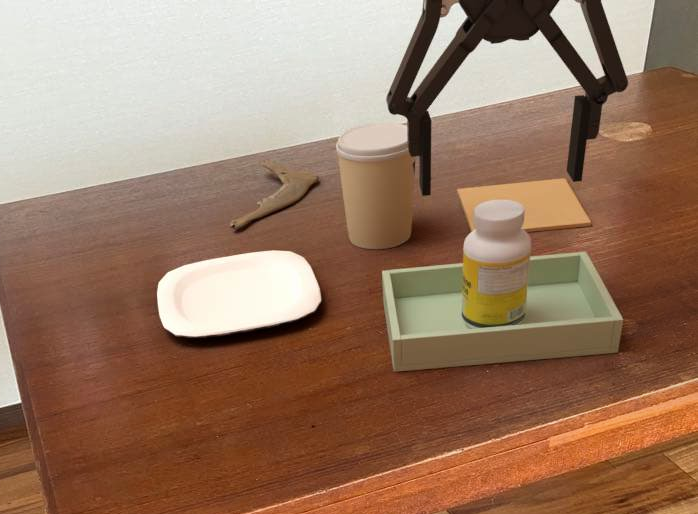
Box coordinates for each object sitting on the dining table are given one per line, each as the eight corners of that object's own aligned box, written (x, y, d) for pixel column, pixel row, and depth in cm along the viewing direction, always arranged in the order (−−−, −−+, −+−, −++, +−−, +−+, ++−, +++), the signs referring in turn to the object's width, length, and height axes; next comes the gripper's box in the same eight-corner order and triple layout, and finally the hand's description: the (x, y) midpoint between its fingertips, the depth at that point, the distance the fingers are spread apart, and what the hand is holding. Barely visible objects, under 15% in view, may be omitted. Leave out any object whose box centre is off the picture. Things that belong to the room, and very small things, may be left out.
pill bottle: (478, 299, 94) (483, 191, 87) (536, 312, 91) (546, 200, 83) (449, 327, 91) (451, 217, 83) (508, 341, 88) (516, 228, 80)
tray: (582, 282, 96) (586, 251, 94) (618, 352, 85) (623, 319, 83) (383, 300, 98) (381, 270, 95) (393, 372, 87) (392, 339, 84)
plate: (332, 327, 95) (330, 312, 93) (164, 356, 94) (161, 342, 92) (303, 256, 108) (301, 242, 107) (156, 280, 107) (153, 267, 106)
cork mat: (564, 181, 116) (565, 177, 116) (590, 226, 106) (591, 222, 105) (457, 192, 117) (457, 188, 117) (472, 237, 107) (472, 233, 106)
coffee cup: (433, 234, 108) (434, 133, 100) (373, 260, 105) (368, 156, 97) (385, 213, 114) (382, 115, 106) (327, 236, 111) (319, 137, 103)
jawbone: (323, 175, 128) (323, 160, 126) (297, 239, 113) (297, 223, 112) (262, 171, 129) (261, 157, 128) (229, 234, 115) (228, 219, 113)
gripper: (669, -123, 69) (625, 155, 83) (350, -87, 71) (361, 180, 85) (701, -110, 64) (649, 185, 78) (354, -70, 65) (366, 212, 80)
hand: (499, 183), depth 82 cm, fingers open, 13 cm apart
